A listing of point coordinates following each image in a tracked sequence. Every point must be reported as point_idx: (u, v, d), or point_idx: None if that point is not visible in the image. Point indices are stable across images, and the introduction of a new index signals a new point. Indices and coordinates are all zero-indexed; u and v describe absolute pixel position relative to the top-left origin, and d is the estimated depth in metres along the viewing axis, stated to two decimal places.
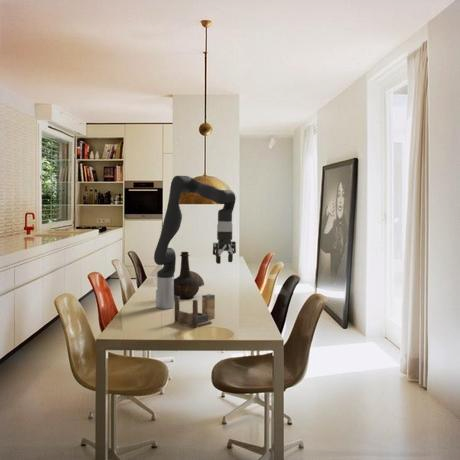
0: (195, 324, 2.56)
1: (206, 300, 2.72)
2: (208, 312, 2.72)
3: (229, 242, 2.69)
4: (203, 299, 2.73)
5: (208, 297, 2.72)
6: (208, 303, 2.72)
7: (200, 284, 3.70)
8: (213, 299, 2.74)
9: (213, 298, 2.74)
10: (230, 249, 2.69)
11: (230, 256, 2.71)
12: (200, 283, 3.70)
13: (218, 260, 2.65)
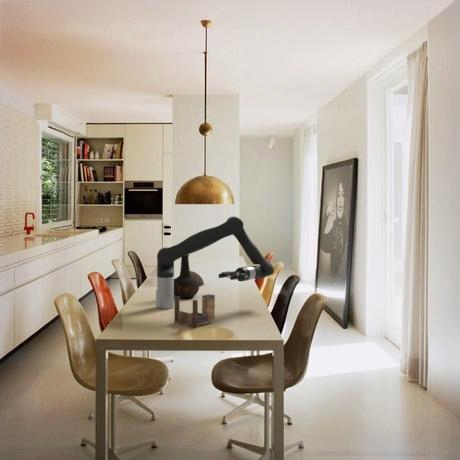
0: (195, 324, 2.56)
1: (206, 300, 2.72)
2: (208, 312, 2.72)
3: None
4: (203, 299, 2.73)
5: (208, 297, 2.72)
6: (208, 303, 2.72)
7: (200, 284, 3.70)
8: (213, 299, 2.74)
9: (213, 298, 2.74)
10: (230, 278, 2.89)
11: (223, 276, 2.87)
12: (200, 283, 3.70)
13: (233, 278, 2.80)
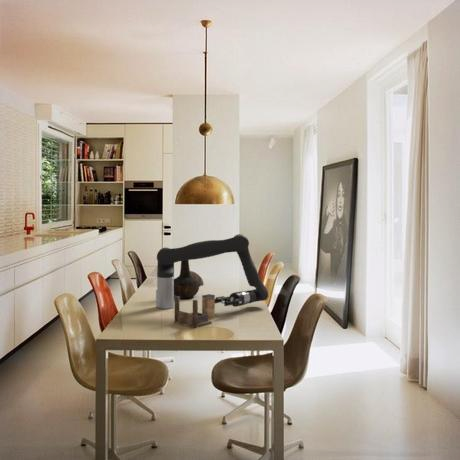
0: (195, 324, 2.56)
1: (206, 300, 2.72)
2: (208, 312, 2.72)
3: None
4: (203, 299, 2.73)
5: (208, 297, 2.72)
6: (208, 303, 2.72)
7: (199, 284, 3.70)
8: (213, 299, 2.74)
9: (213, 298, 2.74)
10: (224, 303, 2.87)
11: (217, 301, 2.85)
12: (199, 283, 3.70)
13: (228, 305, 2.78)
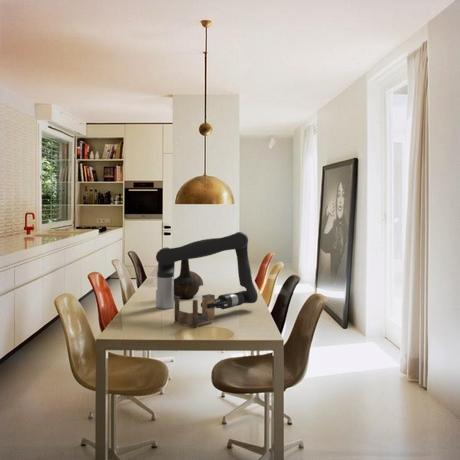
0: (195, 324, 2.56)
1: (206, 300, 2.72)
2: (208, 312, 2.72)
3: None
4: (203, 299, 2.73)
5: (208, 297, 2.72)
6: (208, 303, 2.72)
7: None
8: (213, 299, 2.74)
9: (213, 298, 2.74)
10: None
11: None
12: None
13: None
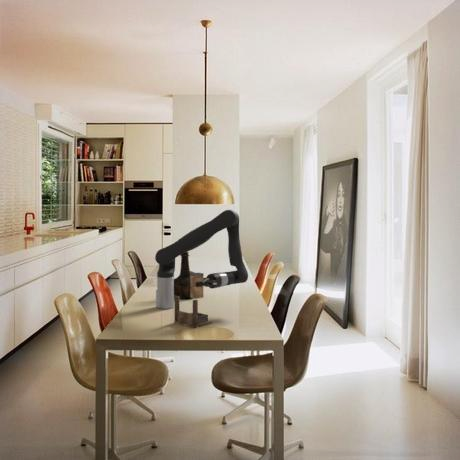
0: (195, 324, 2.56)
1: (194, 278, 2.63)
2: (197, 291, 2.63)
3: None
4: (191, 277, 2.64)
5: (196, 275, 2.62)
6: (197, 281, 2.63)
7: None
8: (201, 277, 2.65)
9: (202, 276, 2.65)
10: None
11: None
12: None
13: (199, 285, 2.63)
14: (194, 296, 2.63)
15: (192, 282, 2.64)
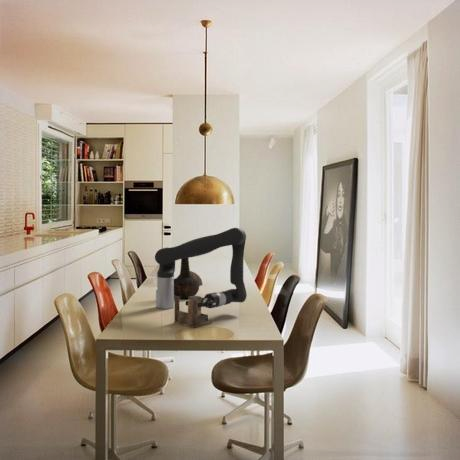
0: (195, 324, 2.56)
1: (192, 302, 2.62)
2: None
3: None
4: (189, 301, 2.64)
5: (194, 299, 2.62)
6: None
7: None
8: (199, 300, 2.64)
9: (199, 300, 2.64)
10: None
11: None
12: None
13: (199, 306, 2.61)
14: None
15: (190, 305, 2.63)
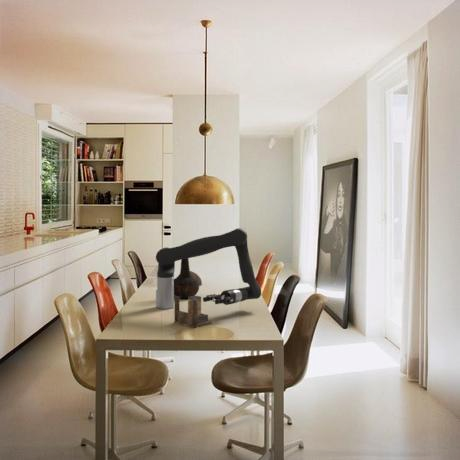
0: (195, 324, 2.56)
1: (192, 302, 2.62)
2: None
3: None
4: (189, 301, 2.64)
5: (194, 299, 2.62)
6: None
7: None
8: (199, 300, 2.64)
9: (199, 300, 2.64)
10: (215, 301, 2.79)
11: (208, 299, 2.77)
12: None
13: (218, 303, 2.70)
14: None
15: (190, 305, 2.63)
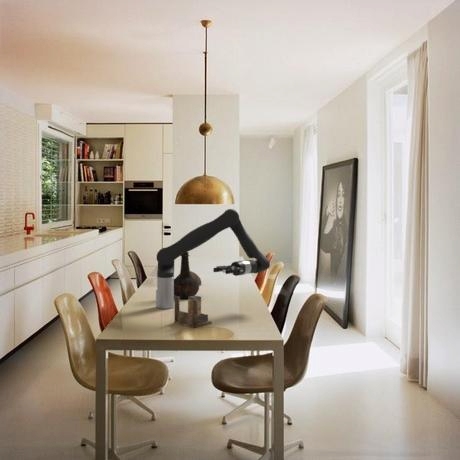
0: (195, 324, 2.56)
1: (192, 302, 2.62)
2: None
3: None
4: (189, 301, 2.64)
5: (194, 299, 2.62)
6: None
7: None
8: (199, 300, 2.64)
9: (199, 300, 2.64)
10: (225, 272, 2.83)
11: (218, 270, 2.82)
12: None
13: (229, 273, 2.75)
14: None
15: (190, 305, 2.63)
